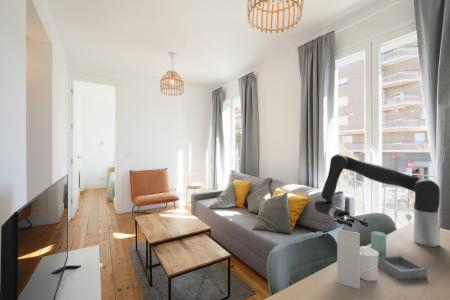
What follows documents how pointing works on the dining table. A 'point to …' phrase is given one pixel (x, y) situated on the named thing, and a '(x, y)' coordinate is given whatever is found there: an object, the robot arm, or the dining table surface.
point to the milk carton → (348, 258)
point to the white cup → (368, 263)
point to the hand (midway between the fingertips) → (359, 225)
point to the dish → (402, 268)
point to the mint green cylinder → (378, 242)
